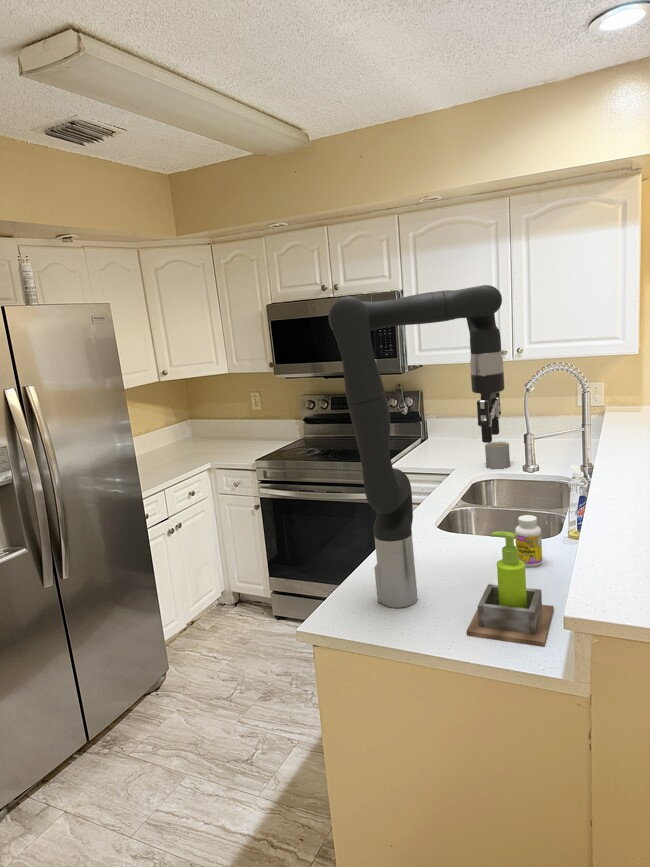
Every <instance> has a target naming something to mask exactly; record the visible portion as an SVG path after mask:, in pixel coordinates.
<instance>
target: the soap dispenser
mask: <svg viewBox="0 0 650 867" xmlns="http://www.w3.org/2000/svg"><path fill="white" fill-rule="evenodd" d="M490 536H491V538H492V537H498V538H500V537H501V538H504V539H505V546H503V547H502V548H501V555H502V556H501V557H502V559H500V560H498V561H497V563H496V569H497V570H496V571H497V585H498V591H499V605H500V606H509V607H517V608H525V609H527V594H526V588H527V580H526V578H527V577H526V567H525V563H524V562H523V561H522V560H519V555H518V548H517V547H516V545H515V543H514V542H515V541H514V540H516V537H517V534H515V532H510V531H503V530H499V531H498V530H497V531H493V532H491V534H490Z"/></svg>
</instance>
